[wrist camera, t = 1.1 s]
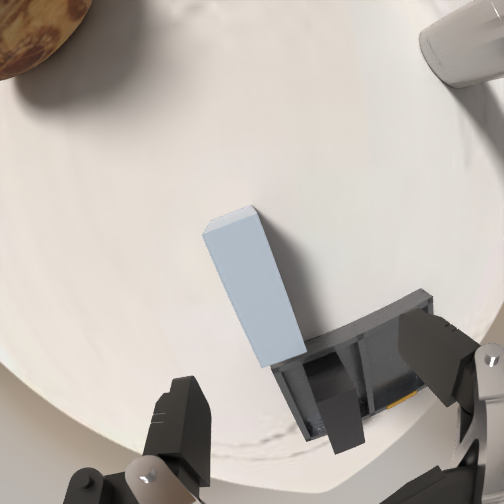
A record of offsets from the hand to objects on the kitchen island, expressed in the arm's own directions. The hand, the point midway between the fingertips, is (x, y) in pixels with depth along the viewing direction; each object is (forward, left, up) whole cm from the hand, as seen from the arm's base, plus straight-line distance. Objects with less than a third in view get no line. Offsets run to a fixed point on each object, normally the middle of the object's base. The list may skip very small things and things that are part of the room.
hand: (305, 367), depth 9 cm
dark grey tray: (-7, +20, -17) cm, 27 cm away
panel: (+1, +2, -18) cm, 18 cm away
